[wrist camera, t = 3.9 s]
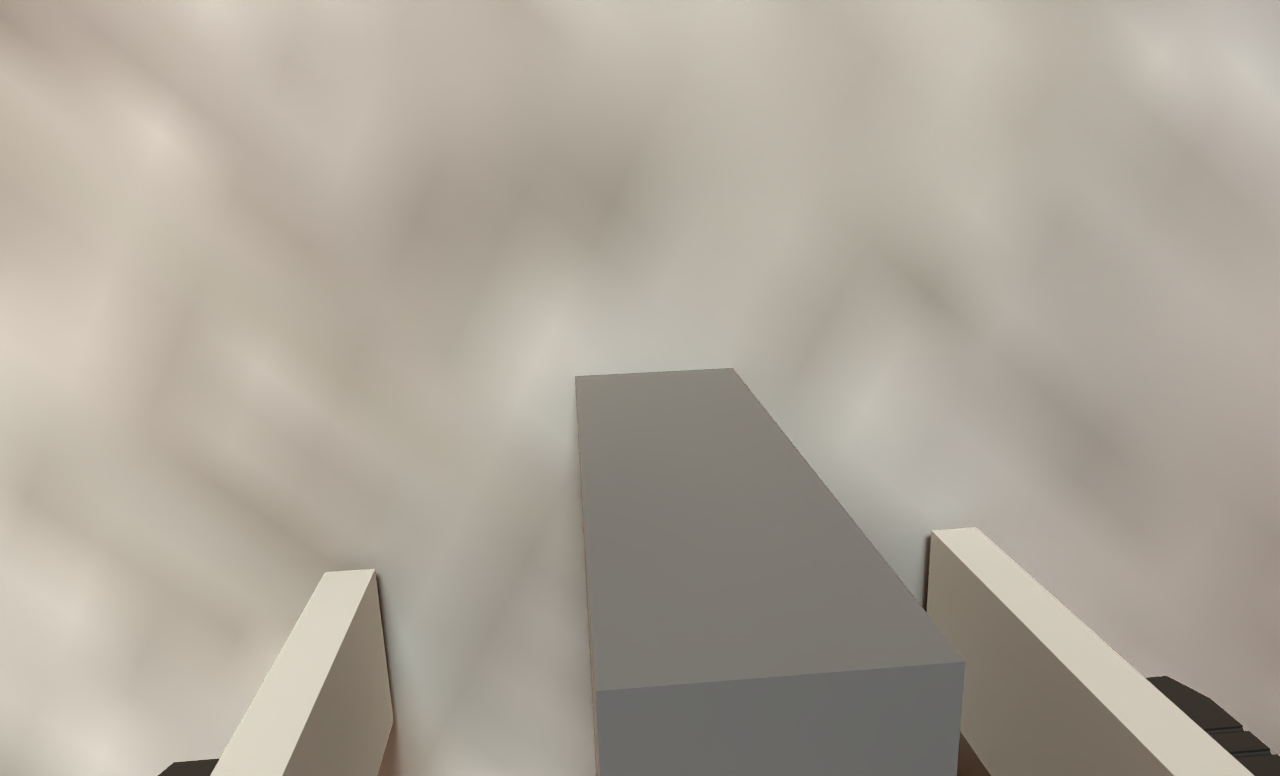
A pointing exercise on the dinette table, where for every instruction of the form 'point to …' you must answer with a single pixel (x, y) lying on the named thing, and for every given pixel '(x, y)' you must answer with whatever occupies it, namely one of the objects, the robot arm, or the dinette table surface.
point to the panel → (743, 600)
